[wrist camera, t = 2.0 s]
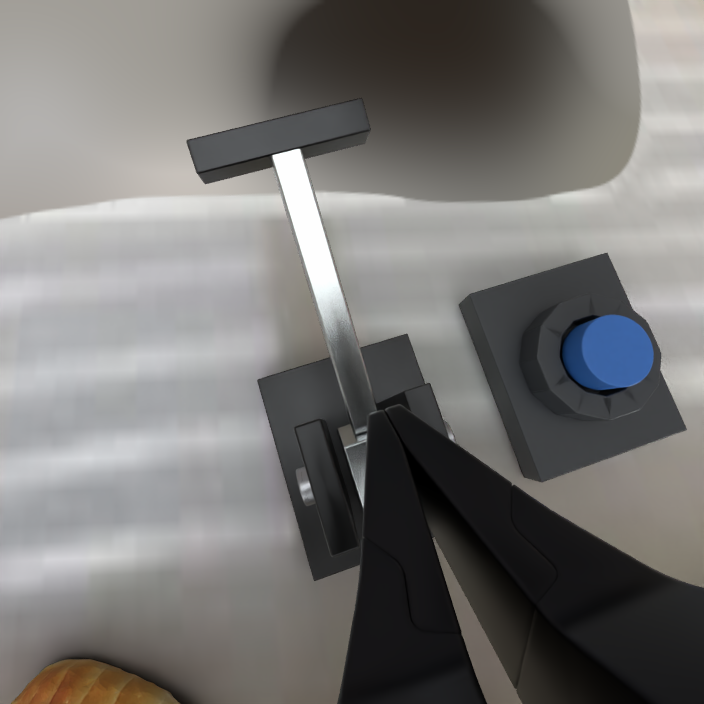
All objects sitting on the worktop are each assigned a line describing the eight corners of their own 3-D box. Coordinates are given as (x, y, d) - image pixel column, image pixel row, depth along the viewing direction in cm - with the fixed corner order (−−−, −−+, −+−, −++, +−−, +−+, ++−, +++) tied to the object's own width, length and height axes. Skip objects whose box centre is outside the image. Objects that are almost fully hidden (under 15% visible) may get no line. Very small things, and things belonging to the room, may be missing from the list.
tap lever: (199, 160, 14) (179, 130, 12) (355, 121, 15) (365, 85, 13) (311, 506, 16) (313, 538, 14) (447, 459, 17) (472, 482, 14)
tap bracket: (260, 381, 23) (210, 352, 14) (403, 337, 24) (450, 281, 15) (315, 573, 22) (300, 692, 12) (466, 517, 23) (566, 588, 13)
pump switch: (658, 429, 24) (722, 430, 20) (524, 477, 23) (563, 488, 19) (586, 265, 26) (632, 236, 22) (458, 304, 25) (482, 281, 21)
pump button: (638, 378, 21) (666, 374, 19) (577, 399, 20) (600, 396, 19) (611, 314, 21) (635, 305, 20) (550, 334, 21) (570, 326, 19)
